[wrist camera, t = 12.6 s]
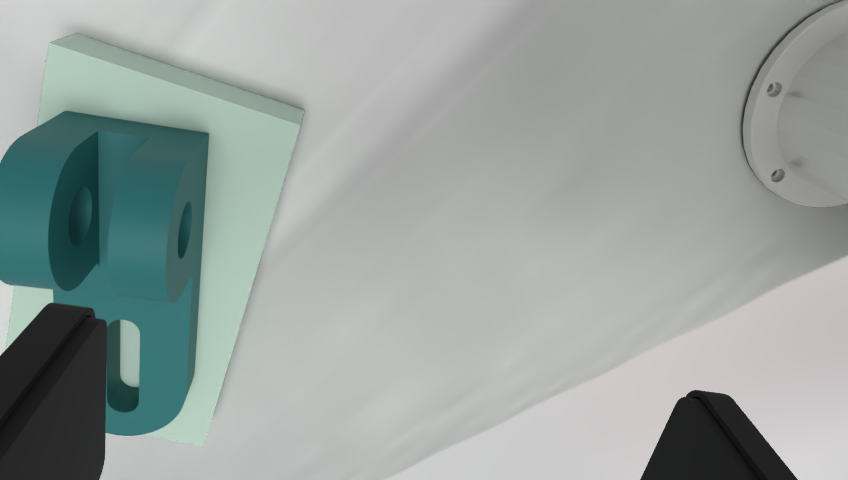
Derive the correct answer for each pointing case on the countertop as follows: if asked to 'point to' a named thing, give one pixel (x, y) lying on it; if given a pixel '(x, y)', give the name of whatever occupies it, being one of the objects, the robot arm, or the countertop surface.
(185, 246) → the bracket
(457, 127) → the countertop surface
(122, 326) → the base plate
